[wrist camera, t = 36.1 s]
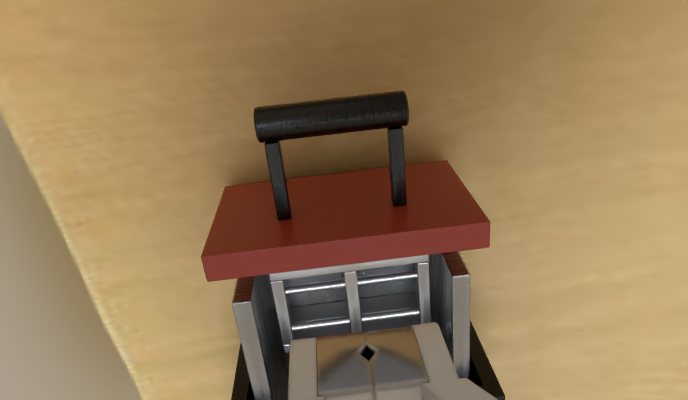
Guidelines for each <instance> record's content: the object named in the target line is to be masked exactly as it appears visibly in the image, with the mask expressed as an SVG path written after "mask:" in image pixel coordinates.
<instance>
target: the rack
mask: <svg viewBox="0 0 688 400" xmlns="http://www.w3.org/2000/svg"><path fill="white" fill-rule="evenodd" d="M413 263H415V270H412V271H404V272H396V273H388V274H380V275H372V276H365V277H357V272H356V271H358V270H366V269H374V268H382V267H390V266H397V265H405V264H413ZM342 272H344V279H341V280H333V281H325V282H317V283H309V284H301V285H293V286H285V281H284V280H286V279H294V278H302V277H310V276H318V275H326V274H334V273H342ZM269 279H270V284H271V289H272V294H273V299H274V304H275V309H276V314H277V319H278V324H279V329H280V334H281V339H282V344H283V349H284V353H285V354H288V353H290V344H291V341H292V340H296V339H306V338H316V339H317V337H322V336H331V335H341V334H351V333H361V332H371V331H378V330H386V329H393V328H401V327H409V326H411V327H412V325H418V324H425V323H432V319H431V291H430V263H429V255H422V256H414V257H406V258H397V259H389V260H381V261H373V262H365V263H357V264H348V265H340V266H332V267H324V268H316V269H308V270H299V271H291V272H283V273H275V274H269ZM408 279H416V290H417V292H412V293H404V294H396V295H388V296H381V297H373V298H365V299H359V290H358V286H361V285H369V284H377V283H385V282H393V281H400V280H408ZM345 287H346V296H347V301H341V302H333V303H325V304H318V305H310V306H302V307H294V308H289V302H288V297H287V295H290V294H298V293H306V292H313V291H321V290H329V289H337V288H345Z"/></svg>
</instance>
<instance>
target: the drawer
mask: <svg viewBox="0 0 688 400" xmlns="http://www.w3.org/2000/svg"><path fill="white" fill-rule="evenodd" d="M408 121H409V108H408V101H407V96H406V93H405V91H394V92H385V93H376V94H368V95H359V96H350V97H342V98H333V99H324V100H316V101H307V102H298V103H290V104H281V105H272V106H264V107H256V108H254V125H255V131H256V136H257V139H258V141H259V142H260V143H263V142H265V151H266V156H267V162H268V168H269V174H270V179H271V181H269V182H261V183H252V184H244V185H235V186H227V187H225V189H224V192H223V195H222V198H221V201H220V203H219V206H218V209H217V212H216V215H215V218H214V221H213V224H212V226H211V229H210V232H209V235H208V238H207V241H206V244H205V247H204V250H203V252H202V255H201V259H202V263H203V267H204V271H205V275H206V279H207V281H208V282H210V281H218V280H226V279H234V278H237V282H236V287H235V292H234V296H233V301H232V306H233V310H234V315H235V319H236V323H237V327H238V331H239V336H240V340H241V344H242V348H243V352H244V357H245V361H246V365H247V369H248V373H249V378H250V382H251V386H252V390H253V394H254V399H255V400H288V388H289V362H290V353H288V354H285V353H284V349H283V344H282V339H281V334H280V329H279V324H278V319H277V314H276V309H275V304H274V299H273V294H272V289H271V284H270V279H269V274H275V273H283V272H291V271H299V270H308V269H316V268H324V267H332V266H340V265H348V264H357V263H365V262H373V261H381V260H389V259H397V258H406V257H414V256H422V255H429V263H430V291H431V319H432V322H436V323H437V324H438V325H439V328H440V331H441V333H442V336H443V338H444V341H445V344H446V346H447V349H448V352H449V354H450V357H451V359H452V362H453V365H454V367H455V370H456V373H457V375H458V378H467V379H469V364H470V273H469V271H468V269H467V267H466V265H465V263H464V262H463V260H462V258H461V256H460V254H459V252H458V251H463V250H471V249H479V248H487V247H489V245H490V221H489V219H488V218H487V217H486V215H485V214H484V212H483V211H482V210H481V208H480V207H479V205H478V204H477V202H476V201H475V200H474V198H473V197H472V195H471V194H470V193H469V191H468V190H467V188H466V187H465V185H464V184H463V183H462V181H461V180H460V178H459V177H458V176H457V174H456V173H455V171H454V170H453V168H452V167H451V166H450V164H449V163H448V161H438V162H429V163H421V164H412V165H405V159H404V139H403V128H402V126H406V125H408ZM382 128H387V143H388V158H389V167H387V168H379V169H370V170H362V171H353V172H345V173H336V174H328V175H320V176H311V177H303V178H294V179H286V175H285V168H284V162H283V156H282V150H281V144H280V140H288V139H297V138H305V137H314V136H322V135H331V134H340V133H348V132H357V131H365V130H374V129H382ZM412 270H415V263H413V264H405V265H397V266H390V267H382V268H374V269H366V270H358V271H356V272H357V277H365V276H372V275H380V274H388V273H396V272H404V271H412ZM341 279H344V272H342V273H334V274H326V275H318V276H310V277H302V278H294V279H286V280H284V281H285V286H293V285H301V284H309V283H317V282H325V281H333V280H341ZM358 290H359V299H365V298H373V297H381V296H388V295H396V294H404V293H412V292H417V290H416V279H408V280H400V281H393V282H385V283H377V284H369V285H361V286H358ZM287 297H288V302H289V308H294V307H302V306H310V305H318V304H325V303H333V302H341V301H347V296H346V287H345V288H337V289H329V290H321V291H313V292H306V293H298V294H290V295H287Z"/></svg>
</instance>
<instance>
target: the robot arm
mask: <svg viewBox="0 0 688 400" xmlns="http://www.w3.org/2000/svg"><path fill="white" fill-rule="evenodd" d="M288 400H498V399H496V398H495V397H493V396H492V395H490V394H489V393H487V392H486V391H485V390H483V389H482V388H480V387H479V386H477V385H476V384H474V383H473V382H472V381H470V380H469V379H467V378H458V375H457V373H456V370H455V367H454V365H453V362H452V359H451V357H450V354H449V352H448V349H447V346H446V344H445V341H444V338H443V336H442V333H441V331H440V328H439V325H438V324H437V323H436V322H432V323H425V324H418V325H412V327H411V326H409V327H401V328H393V329H386V330H378V331H371V332H361V333H351V334H341V335H331V336H322V337H317V339H316V338H306V339H296V340H292V341H291V344H290V362H289V388H288Z"/></svg>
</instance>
